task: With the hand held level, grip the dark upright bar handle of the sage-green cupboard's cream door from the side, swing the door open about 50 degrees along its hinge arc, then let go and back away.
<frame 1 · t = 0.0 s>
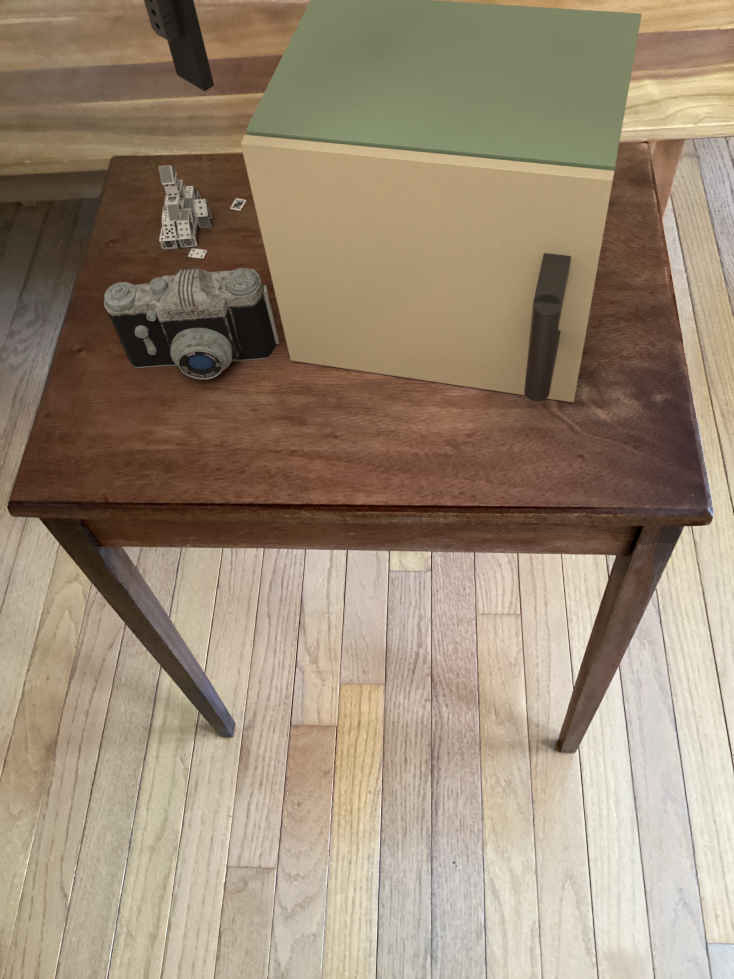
hand: (276, 29, 59), 33 cm above the table, tool pointing down, fingers open, 13 cm apart
cupboard door: (416, 308, 73), point 12 cm above the table, hinge at 0.0°
camera: (202, 363, 88), on the table
cupboard: (450, 300, 89), on the table
house of cards: (204, 230, 98), on the table
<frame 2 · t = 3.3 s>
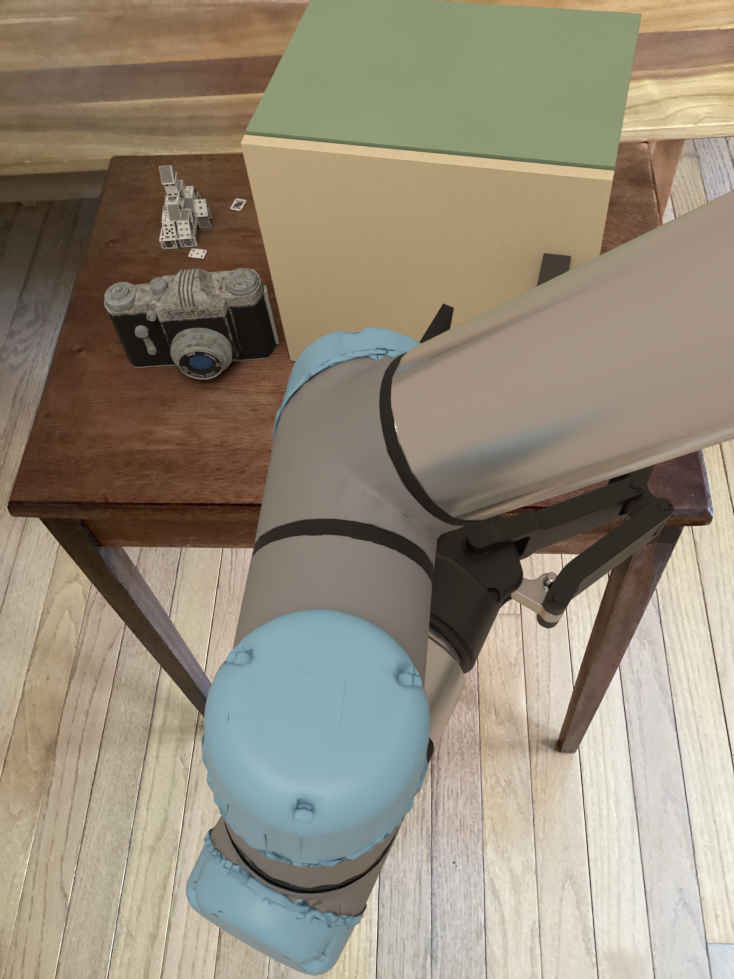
hand: (545, 359, 58), 21 cm above the table, tool horizontal, fingers open, 13 cm apart
nothing on the table moved.
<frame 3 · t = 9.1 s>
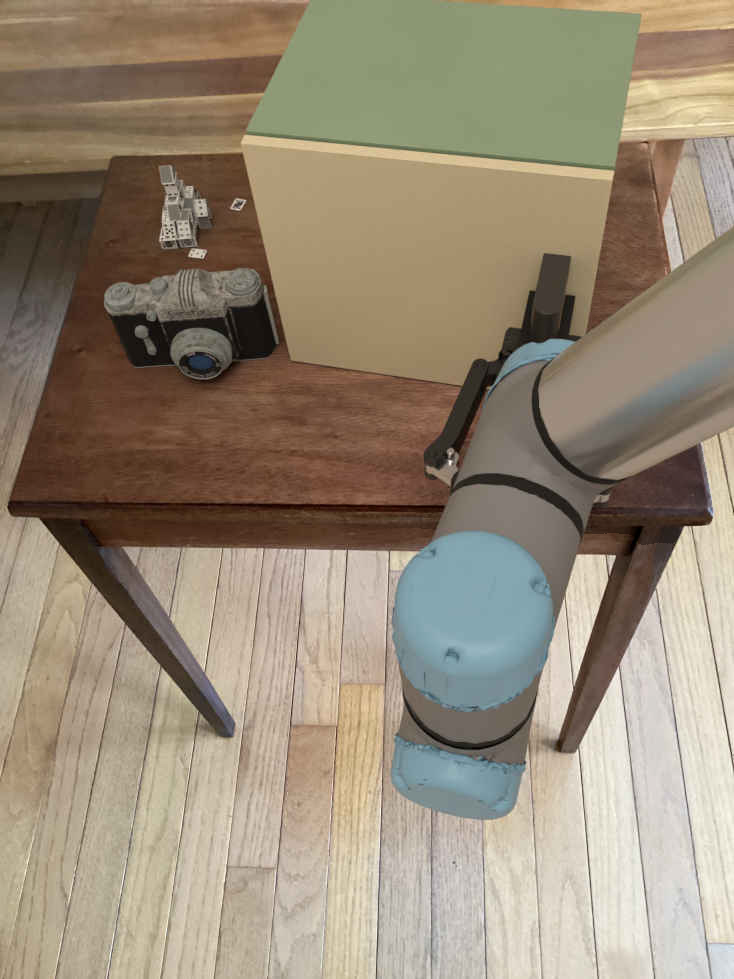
hand: (550, 305, 72), 12 cm above the table, tool horizontal, fingers closed on cupboard door, 2 cm apart
cupboard door: (416, 308, 73), point 12 cm above the table, hinge at 0.0°, touching gripper
everything else where it was.
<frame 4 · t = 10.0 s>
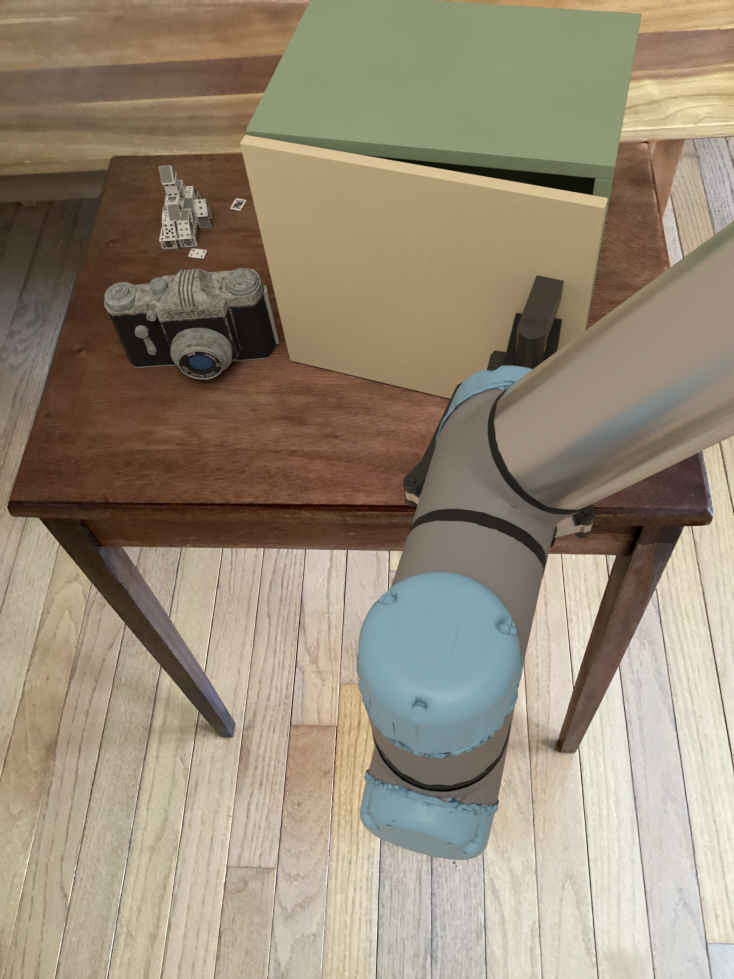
hand: (537, 328, 71), 12 cm above the table, tool horizontal, fingers closed on cupboard door, 2 cm apart
cupboard door: (408, 320, 72), point 12 cm above the table, hinge at 6.0°, touching gripper
everything else where it was.
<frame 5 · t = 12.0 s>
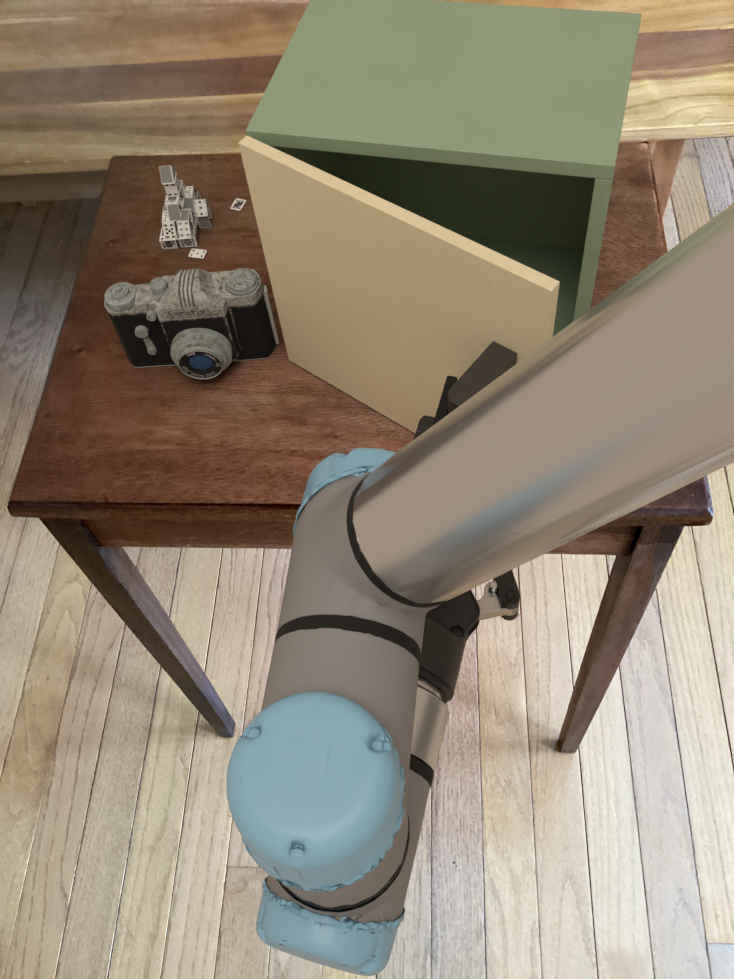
hand: (472, 391, 68), 12 cm above the table, tool horizontal, fingers open, 2 cm apart
cupboard door: (372, 353, 71), point 12 cm above the table, hinge at 24.0°, touching gripper
everything else where it was.
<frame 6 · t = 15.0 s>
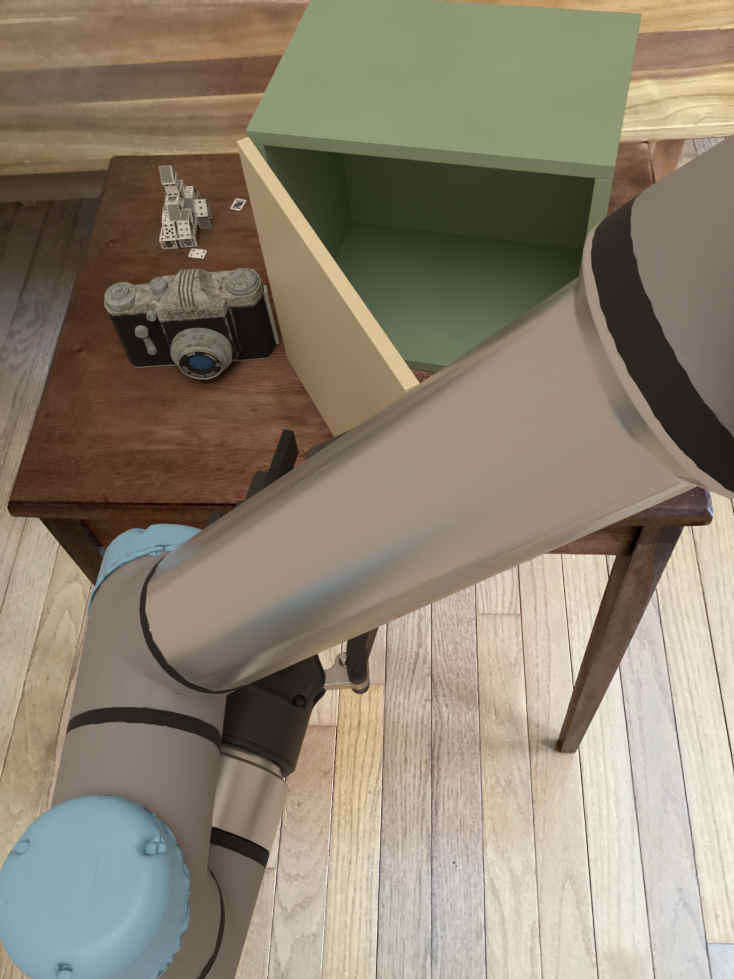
hand: (333, 448, 66), 12 cm above the table, tool horizontal, fingers open, 6 cm apart
cupboard door: (302, 383, 70), point 12 cm above the table, hinge at 49.2°, touching gripper
everything else where it was.
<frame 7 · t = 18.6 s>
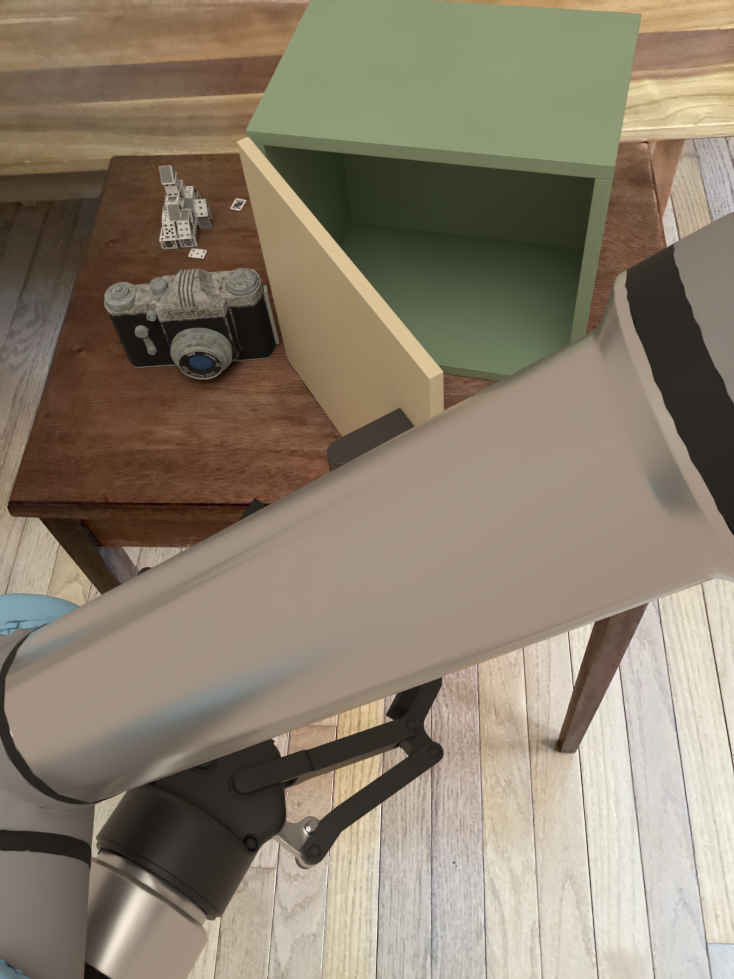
hand: (349, 566, 58), 15 cm above the table, tool horizontal, fingers open, 13 cm apart
cupboard door: (312, 380, 70), point 12 cm above the table, hinge at 45.8°
everything else where it was.
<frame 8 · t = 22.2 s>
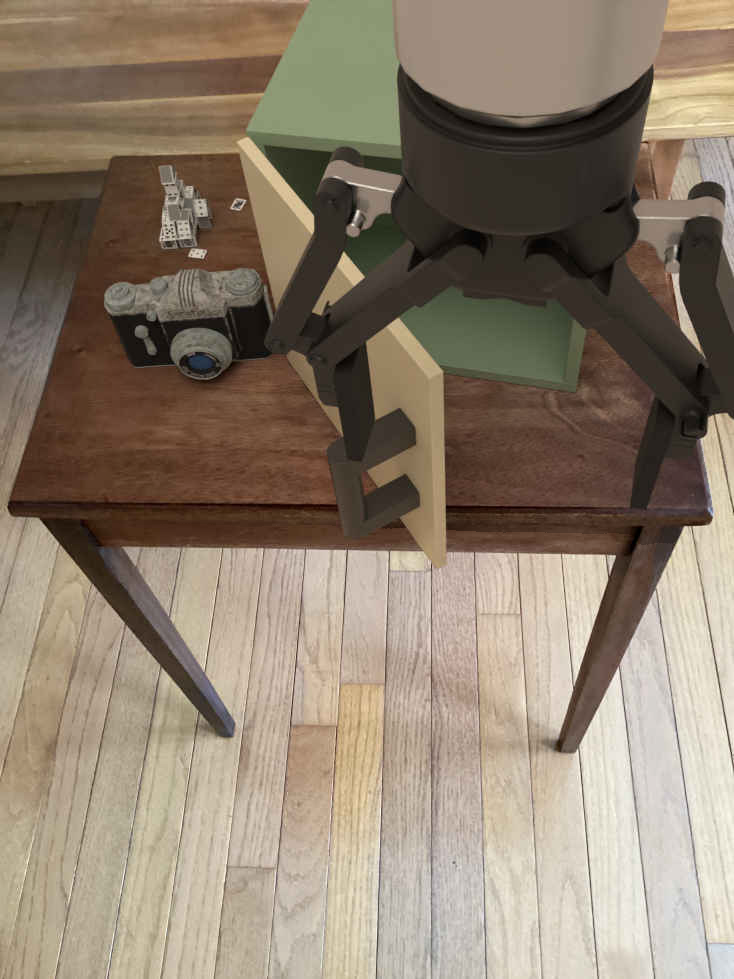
hand: (496, 461, 45), 29 cm above the table, tool pointing down, fingers open, 13 cm apart
nothing on the table moved.
at the end: cupboard door at +46° (first picture: +0°); the gripper is holding nothing; house of cards moved 0.2 cm from its start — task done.
